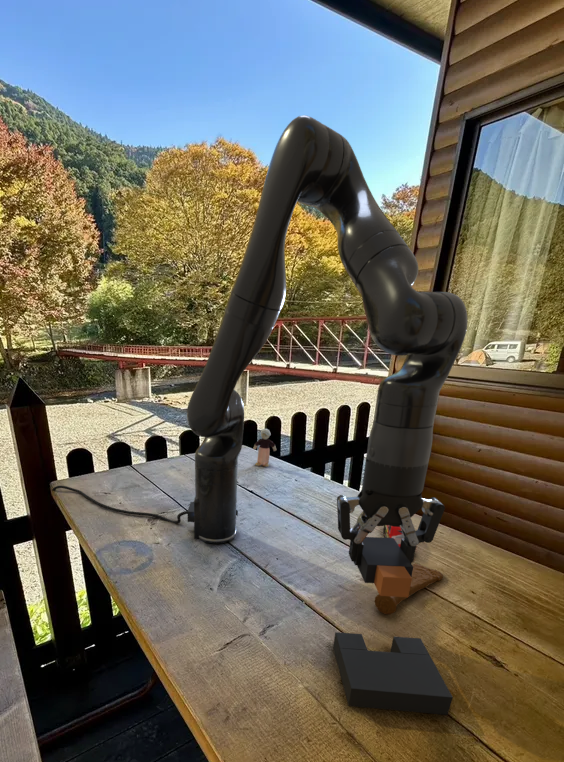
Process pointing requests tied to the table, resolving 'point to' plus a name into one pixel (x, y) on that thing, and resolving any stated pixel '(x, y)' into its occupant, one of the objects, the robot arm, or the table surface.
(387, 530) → the race car
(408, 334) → the robot arm
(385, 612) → the primitive tool
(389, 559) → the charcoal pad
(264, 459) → the grandmother figurine
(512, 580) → the table surface
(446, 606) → the table surface
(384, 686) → the black pad
